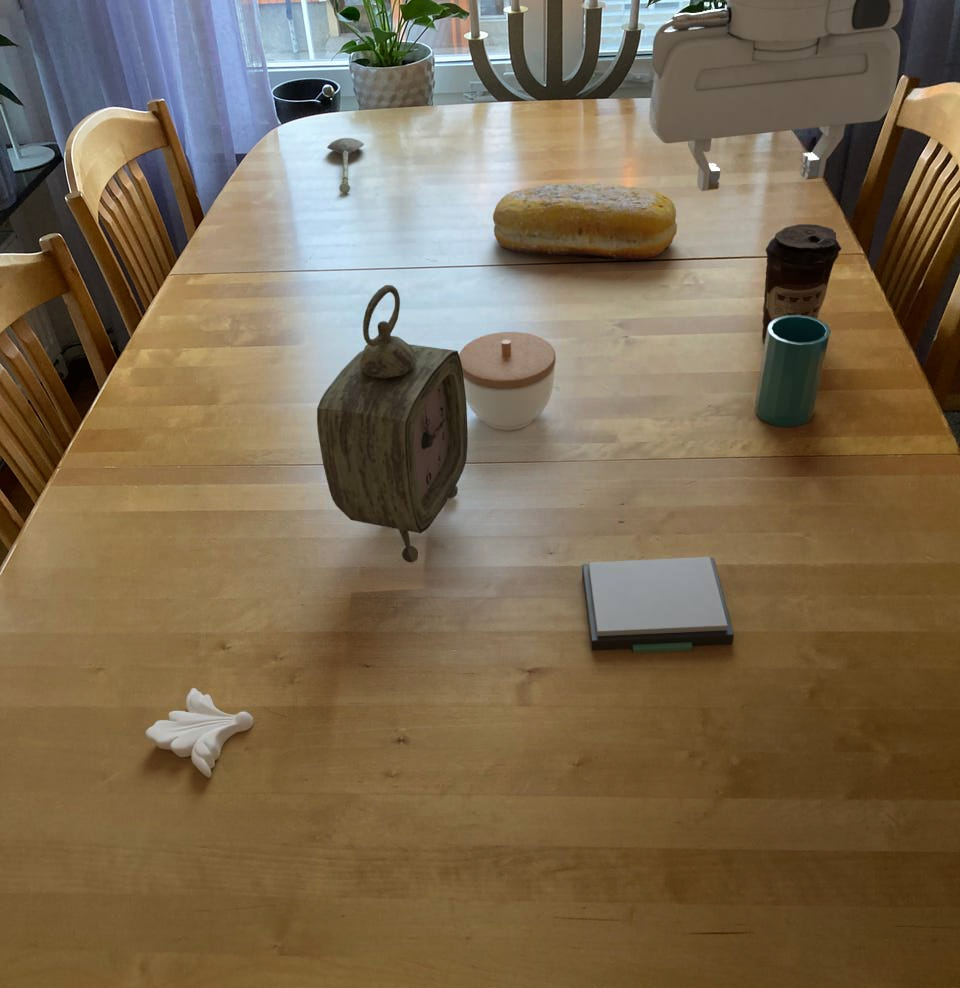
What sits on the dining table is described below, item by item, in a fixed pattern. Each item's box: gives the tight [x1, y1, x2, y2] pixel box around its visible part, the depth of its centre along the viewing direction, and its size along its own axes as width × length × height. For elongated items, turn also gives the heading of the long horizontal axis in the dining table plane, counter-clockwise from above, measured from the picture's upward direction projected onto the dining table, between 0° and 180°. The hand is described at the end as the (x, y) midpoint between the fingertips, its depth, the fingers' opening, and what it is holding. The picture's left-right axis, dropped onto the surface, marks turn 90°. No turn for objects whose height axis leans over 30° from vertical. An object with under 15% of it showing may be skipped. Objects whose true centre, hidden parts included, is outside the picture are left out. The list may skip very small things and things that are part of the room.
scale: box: [581, 556, 735, 654], centre depth 89 cm, size 12×10×4 cm
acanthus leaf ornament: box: [145, 687, 254, 779], centre depth 83 cm, size 8×7×2 cm
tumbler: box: [754, 315, 831, 428], centre depth 109 cm, size 6×6×10 cm
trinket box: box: [458, 331, 557, 432], centre depth 112 cm, size 11×11×9 cm
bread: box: [492, 183, 678, 261], centre depth 143 cm, size 13×26×8 cm, turn 76°
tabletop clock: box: [316, 284, 469, 563], centre depth 94 cm, size 14×9×25 cm, turn 160°
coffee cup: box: [761, 223, 842, 343], centre depth 119 cm, size 9×8×13 cm
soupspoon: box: [326, 137, 365, 194], centre depth 172 cm, size 22×3×7 cm
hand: (759, 182), depth 89 cm, fingers open, 8 cm apart
